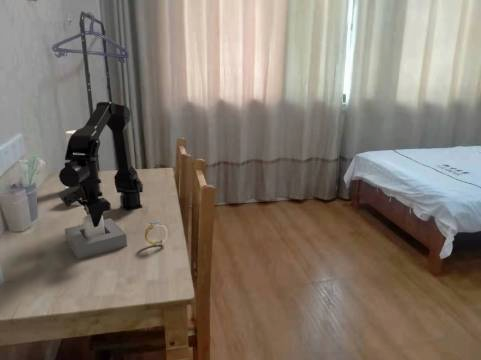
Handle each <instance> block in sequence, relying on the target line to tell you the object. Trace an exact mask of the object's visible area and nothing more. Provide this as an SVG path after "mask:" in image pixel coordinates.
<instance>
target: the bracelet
mask: <svg viewBox="0 0 481 360" xmlns="http://www.w3.org/2000/svg"><path fill="white" fill-rule="evenodd" d="M156 227H160V228H162V229H163V230H164V232H165V233H164V237H163V238H162V240H160V241H158V240H157V241H152V240H150V239H149V238H148V233H149V232H150V231H152V230H153V229H154V228H156ZM168 231H169V230H168V228H167V226H166V225H165V224H163V223H161V221H160V220H159V221H157V220H152V222H149V224H147V225H146V227H145V229H144V239H145V241H146V242H147V243H148V244H149V245H153V246H157V247H158V246H159V245H161V244H163V243H165V242H166V240H167V239H168V236H169V232H168Z"/></svg>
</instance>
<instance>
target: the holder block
mask: <svg viewBox="0 0 481 360" xmlns="http://www.w3.org/2000/svg"><path fill="white" fill-rule="evenodd" d="M103 221H104V229H105V234H104V235H100V236H96V237H92V238H88V239H86V237H85V229H84V223H83V224H80V225H75V226H71V227H66V228H64V236H65V241H66V243H67V244H68V246H69V247H70V249H71V251H72V252H73V254H74V255H75V257H76V259H77V260H81V259H84V258H85V259H86V258H88V257H92V256H95V255H99V254H103V253H106V252H109V251H113V250H117V249H120V248H124V247H127V246H128V241H127V234H126V232H125V231H124V230H123V229H122V228H121V227H120V226H119V225H118V224H117V223H116V222H115V221H114V220H113V219H112V218H111V217H110V218H105V219H103Z"/></svg>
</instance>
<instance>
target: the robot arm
mask: <svg viewBox="0 0 481 360" xmlns="http://www.w3.org/2000/svg"><path fill="white" fill-rule="evenodd" d="M130 117H131V110H130V108H129V107H128V106H127V105H126V104H117V103H114V102H112V101H99V102H96V106H95V109H94V111H93V112H92V114H91V116H90V117H89V119H88V120H87V122H86V123H85V125H84V126H83V127H81V128H79V129H75V130H76V131H75V132H74V133H73V134H72V135H71V137H70V139H69V142H68V145H67V147H66V151H65V155H64V161H66V162H64V167H63V168H61V170H60V171H59V175H58V177H59V178H58V179H59V181H60V183H61V184H62V185H63V186H65V187H66V186H67V187H69V188H67V189H65V190H64V189H63V190H62V191H60V192H59V193H58V194H57V195H58V197H59V198H60V200H61V201H62V203H63V204H64V206H65V207H70V206H72V205H71V204H72V203H74V202H76V201H78V203H79V204H81V205H80V206H82V207H83V209H84V211H85V213H86V216H87V215H89V214H90V216H91V219H92V222H93V225H94V227H97V226H98V225H99V222H100V219H101V217H102V216H103V215H104V213H105V212H108V211H111V210H112V206H111V202H110V201H108V200H107V199H106V198H105V197H103V192H102V191H101V187H100V186H101V185H100V184H101V183H102V180H101V179H100V177H99V169H98V160H97V159H98V158H99V154H98V153H99V149H100V146H101V140H100V137H101V134H102V132H103V131H104V129H105V127H106V126H107V127H108V128H109V130H110V131H111V134H112V139H113V145H114V150H115V156H116V163H117V171H116V173H115V175H114V177H113V178H114V186H115V189H116V193H118V194H120V196H119V199H120V200H119V202H120V207H122V208H123V209H124V211H129V210H135V209H139V208H143V205H142V204H141V194H140V193H143V192H144V184H143V182H142V181H141V179H140V178H139V174H138V172H137V170H136V169H135V168H134V167H133V165H132V160H131V159H132V158H131V153H130V145H129V139H128V133H127V132H128V131H127V128H128V126H129V123H130V121H131V118H130ZM73 153H75V154H73ZM78 154H84V155H78ZM99 197H100V198H99ZM79 199H80V200H79ZM88 213H89V214H88Z"/></svg>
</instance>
